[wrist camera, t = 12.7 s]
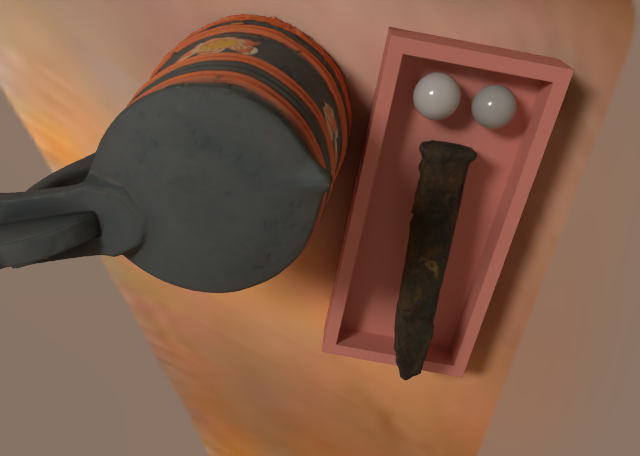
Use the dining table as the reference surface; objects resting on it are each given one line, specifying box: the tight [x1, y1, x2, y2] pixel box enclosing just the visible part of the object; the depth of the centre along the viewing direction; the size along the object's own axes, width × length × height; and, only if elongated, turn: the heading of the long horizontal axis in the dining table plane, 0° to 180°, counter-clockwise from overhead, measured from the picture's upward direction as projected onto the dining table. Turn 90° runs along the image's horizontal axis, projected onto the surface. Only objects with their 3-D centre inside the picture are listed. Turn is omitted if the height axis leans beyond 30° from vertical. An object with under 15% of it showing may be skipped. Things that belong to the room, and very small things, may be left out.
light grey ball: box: [413, 72, 461, 120], centre depth 41 cm, size 3×3×3 cm
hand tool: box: [394, 140, 477, 380], centre depth 45 cm, size 19×4×5 cm, turn 171°
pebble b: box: [471, 84, 517, 129], centre depth 41 cm, size 3×3×3 cm
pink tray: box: [322, 27, 574, 377], centre depth 46 cm, size 26×12×4 cm, turn 170°
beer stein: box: [0, 14, 352, 293], centre depth 37 cm, size 19×15×20 cm
